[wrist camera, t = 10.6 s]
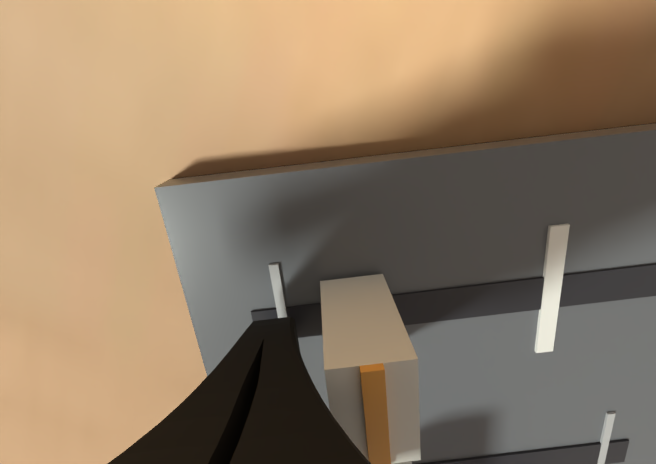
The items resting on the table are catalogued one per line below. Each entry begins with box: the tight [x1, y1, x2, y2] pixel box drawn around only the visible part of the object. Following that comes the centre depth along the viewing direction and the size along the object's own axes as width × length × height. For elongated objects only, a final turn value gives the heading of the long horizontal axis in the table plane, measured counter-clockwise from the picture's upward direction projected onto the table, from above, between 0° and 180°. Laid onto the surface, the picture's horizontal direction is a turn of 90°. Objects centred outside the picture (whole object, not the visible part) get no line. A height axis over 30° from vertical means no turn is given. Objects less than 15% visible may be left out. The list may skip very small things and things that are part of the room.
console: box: [155, 123, 656, 464], centre depth 14 cm, size 18×18×1 cm
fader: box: [320, 274, 421, 464], centre depth 10 cm, size 3×2×4 cm, turn 6°
